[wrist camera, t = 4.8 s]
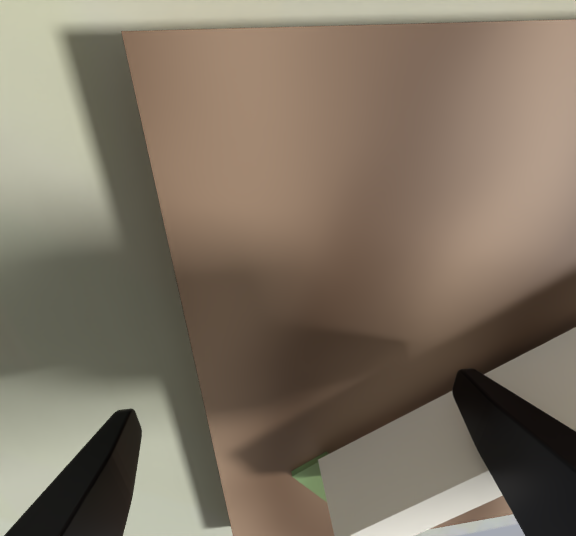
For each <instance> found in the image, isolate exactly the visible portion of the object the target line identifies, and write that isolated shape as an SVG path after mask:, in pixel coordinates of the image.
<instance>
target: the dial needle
mask: <svg viewBox="0 0 576 536" xmlns="http://www.w3.org/2000/svg"><path fill="white" fill-rule="evenodd" d="M484 375H485V376H487V377H489V378H490V379H492V380H494V381H495V382H497V383H498V384H500V385H502V386H503V387H505V388H506V389H508V390H510V391H511V392H513V393H515V394H516V395H518V396H519V397H521V398H523V399H524V400H526V401H527V402H529V403H531V404H532V405H534V406H536V407H537V408H539V409H540V410H542V411H544V412H545V413H547V414H549V415H550V416H552V417H553V418H555V419H557V420H558V421H560V422H561V423H563V424H565V425H566V426H568V427H570V428H571V429H573V430H574V431H576V327H575V328H573V329H571V330H569V331H567V332H565V333H563V334H561V335H559V336H557V337H556V338H554V339H552V340H550V341H548V342H546V343H544V344H542V345H540V346H538V347H536V348H534V349H532V350H530V351H528V352H526V353H524V354H522V355H521V356H519V357H517V358H515V359H513V360H511V361H509V362H507V363H505V364H503V365H501V366H499V367H497V368H495V369H493V370H491V371H489V372H487V373H486V374H484ZM318 463H319V467H320V472H321V476H322V481H323V486H324V490H325V495H326V499H327V504H328V509H329V513H330V518H331V522H332V527H333V531H334V536H415V535H417V534H419V533H422V532H424V531H426V530H428V529H430V528H433V527H435V526H437V525H439V524H441V523H444V522H446V521H448V520H450V519H452V518H455V517H457V516H459V515H461V514H463V513H466V512H468V511H470V510H472V509H474V508H477V507H479V506H481V505H483V504H485V503H487V502H490V501H492V500H494V499H496V498H498V497H501V496H503V495H502V493H501V491H500V490H499V488H498V486H497V484H496V483H495V481H494V479H493V477H492V475H491V474H490V472H489V470H488V468H487V467H486V465H485V463H484V461H483V460H482V458H481V456H480V454H479V452H478V450H477V448H476V446H475V444H474V442H473V440H472V438H471V436H470V433H469V431H468V429H467V427H466V424H465V422H464V420H463V418H462V415H461V413H460V411H459V409H458V406H457V404H456V402H455V400H454V397H453V393H452V391H451V392H449V393H447V394H445V395H443V396H441V397H439V398H437V399H435V400H433V401H431V402H429V403H427V404H425V405H423V406H421V407H419V408H417V409H416V410H414V411H412V412H410V413H408V414H406V415H404V416H402V417H400V418H398V419H396V420H394V421H392V422H390V423H388V424H386V425H384V426H382V427H381V428H379V429H377V430H375V431H373V432H371V433H369V434H367V435H365V436H363V437H361V438H359V439H357V440H355V441H353V442H351V443H349V444H348V445H346V446H344V447H342V448H340V449H338V450H336V451H334V452H332V453H330V454H328V455H326V456H324V457H322V458H320V459H318Z"/></svg>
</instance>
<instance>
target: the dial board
mask: <svg viewBox="0 0 576 536" xmlns="http://www.w3.org/2000/svg"><path fill="white" fill-rule="evenodd" d="M121 32H122V37H123V41H124V46H125V50H126V55H127V59H128V64H129V68H130V73H131V77H132V82H133V86H134V91H135V95H136V100H137V104H138V109H139V113H140V118H141V122H142V127H143V131H144V136H145V140H146V145H147V149H148V154H149V158H150V163H151V167H152V172H153V177H154V181H155V186H156V190H157V195H158V199H159V204H160V208H161V213H162V217H163V222H164V226H165V231H166V235H167V240H168V244H169V249H170V253H171V258H172V262H173V267H174V271H175V276H176V280H177V285H178V289H179V294H180V298H181V303H182V307H183V312H184V316H185V321H186V325H187V330H188V335H189V339H190V344H191V348H192V353H193V357H194V362H195V366H196V371H197V375H198V380H199V384H200V389H201V393H202V398H203V402H204V407H205V411H206V416H207V420H208V425H209V429H210V434H211V438H212V443H213V447H214V452H215V456H216V461H217V465H218V470H219V474H220V479H221V483H222V488H223V492H224V497H225V502H226V506H227V511H228V515H229V520H230V524H231V529H232V533H233V536H334V531H333V527H332V522H331V518H330V513H329V509H328V504H327V499H326V495H325V490H324V486H323V481H322V476H321V472H320V467H319V463H318V459H320V458H322V457H324V456H326V455H328V454H330V453H332V452H334V451H336V450H338V449H340V448H342V447H344V446H346V445H348V444H349V443H351V442H353V441H355V440H357V439H359V438H361V437H363V436H365V435H367V434H369V433H371V432H373V431H375V430H377V429H379V428H381V427H382V426H384V425H386V424H388V423H390V422H392V421H394V420H396V419H398V418H400V417H402V416H404V415H406V414H408V413H410V412H412V411H414V410H416V409H417V408H419V407H421V406H423V405H425V404H427V403H429V402H431V401H433V400H435V399H437V398H439V397H441V396H443V395H445V394H447V393H449V392H451V391H452V388H453V384H454V381H455V378H456V374H457V372H458V371H459V370H460V369H467V368H473V369H476V370H477V371H479V372H481V373H482V374H486V373H487V372H489V371H491V370H493V369H495V368H497V367H499V366H501V365H503V364H505V363H507V362H509V361H511V360H513V359H515V358H517V357H519V356H521V355H522V354H524V353H526V352H528V351H530V350H532V349H534V348H536V347H538V346H540V345H542V344H544V343H546V342H548V341H550V340H552V339H554V338H556V337H557V336H559V335H561V334H563V333H565V332H567V331H569V330H571V329H573V328H575V327H576V19H574V20H536V21H498V22H460V23H422V24H384V25H346V26H308V27H270V28H231V29H193V30H155V31H121ZM511 514H513V513H512V511H511V509H510V507H509V506H508V504H507V502H506V500H505V499H504V497H503V496H501V497H498V498H496V499H494V500H492V501H490V502H487V503H485V504H483V505H481V506H479V507H477V508H474V509H472V510H470V511H468V512H466V513H463V514H461V515H459V516H457V517H455V518H452V519H450V520H448V521H446V522H444V523H441V524H439V525H437V526H435V527H433V528H430V529H434V528H439V527H445V526H450V525H456V524H461V523H467V522H472V521H478V520H484V519H489V518H495V517H500V516H506V515H511Z"/></svg>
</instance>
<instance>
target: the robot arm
mask: <svg viewBox="0 0 576 536" xmlns="http://www.w3.org/2000/svg"><path fill="white" fill-rule="evenodd" d="M452 393H453V397H454V400H455V402H456V404H457V406H458V409H459V411H460V413H461V415H462V418H463V420H464V422H465V424H466V427H467V429H468V431H469V433H470V436H471V438H472V440H473V442H474V444H475V446H476V448H477V450H478V452H479V454H480V456H481V458H482V460H483V461H484V463H485V465H486V467H487V468H488V470H489V472H490V474H491V475H492V477H493V479H494V481H495V483H496V484H497V486H498V488H499V490H500V491H501V493H502V495H503V497H504V499H505V500H506V502H507V504H508V506H509V507H510V509H511V511H512V513H513V515H514V516H515V518H516V520H517V522H518V523H519V525H520V527H521V529H522V530H523V532H524V534H525V536H576V431H574V430H573V429H571V428H570V427H568V426H566V425H565V424H563V423H561V422H560V421H558V420H557V419H555V418H553V417H552V416H550V415H549V414H547V413H545V412H544V411H542V410H540V409H539V408H537V407H536V406H534V405H532V404H531V403H529V402H527V401H526V400H524V399H523V398H521V397H519V396H518V395H516V394H515V393H513V392H511V391H510V390H508V389H506V388H505V387H503V386H502V385H500V384H498V383H497V382H495V381H494V380H492V379H490V378H489V377H487V376H485V375H484V374H482V373H481V372H479V371H477V370H476V369H473V368H467V369H460V370H459V371H458V372H457V374H456V378H455V381H454V384H453V388H452ZM141 437H142V430H141V426H140V423H139V421H138V418H137V415H136V413H135V411H134V410H133V409H123V410H118V411H116V412H115V413H114V414H113V415H112V416H111V417H110V418H109V419H108V420H107V422H106V423H105V424H104V425H103V426H102V427H101V428H100V429H99V431H98V432H97V433H96V434H95V435H94V436H93V437H92V438H91V439H90V441H89V442H88V443H87V444H86V445H85V446H84V447H83V448H82V449H81V451H80V452H79V453H78V454H77V455H76V456H75V457H74V458H73V459H72V461H71V462H70V463H69V464H68V465H67V466H66V467H65V468H64V469H63V471H62V472H61V473H60V474H59V475H58V476H57V477H56V478H55V480H54V481H53V482H52V483H51V484H50V485H49V486H48V487H47V488H46V490H45V491H44V492H43V493H42V494H41V495H40V496H39V497H38V498H37V500H36V501H35V502H34V503H33V504H32V505H31V506H30V507H29V508H28V510H27V511H26V512H25V513H24V514H23V515H22V516H21V517H20V519H19V520H18V521H17V522H16V523H15V524H14V525H13V526H12V527H11V529H10V530H9V531H8V532H7V533H6V534H5V535H4V536H123V533H124V529H125V525H126V521H127V517H128V513H129V509H130V505H131V501H132V496H133V490H134V484H135V477H136V471H137V464H138V457H139V451H140V444H141Z"/></svg>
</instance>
